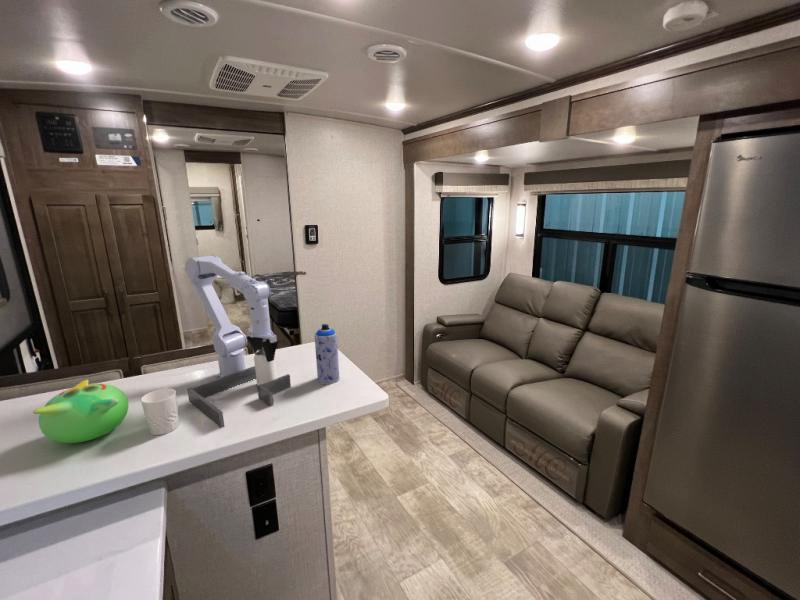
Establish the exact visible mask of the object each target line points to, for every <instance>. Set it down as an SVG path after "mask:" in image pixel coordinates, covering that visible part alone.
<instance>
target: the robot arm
mask: <svg viewBox="0 0 800 600" xmlns="http://www.w3.org/2000/svg"><path fill="white" fill-rule="evenodd" d="M184 271H185V273H186V275H187V277H188V279H189V281H190V283H191V285H193V287H194V289H195V290H196V293H197V295H198V297H199V299H200V301H201V304H202V305H203V307H204V310H205V311H206V314H207V315H208V317H209V320H210V321H211V323H212V325H213V327H214V329H215V331H214V333H213V335H212V336H211V341H212V343H213V348H214V351H215V353H216V354H217V355H218V357H217V361H218V367H219V368H218V370H219V373H217V374H216V375H217V377H218V378H221V377H224V376H227V375H230V374H233V373H236V372H239V371H241V370H244V369H246V364H245V363H246V362H245V356H244V351H246V350H245V349H246V347H247V346H248V342H249V344H250V346H251V348H252V351H253V353H254V355H255V352H256V351H258V350H261V349H264V352H265V355H266V359H267V362H270V361H273V360H274V357H275V356H276V351H277V347H278V344H279V343H280V339H278V338H277V335H276V334H274V332H273V331H272V329H271V319H270V311H269V300H268V299H269V298H270V297H271V294H272V291H271V287H270V285H269V284H268V283H267V282H266V281H265V280H260V281H258V280H257V279H255V278H253V277H250V275H247V274H246V272H244V271H237V272H236V271H234V270H233V269H231V268H230V267H229V266H228V265H227V264H225V263H223V261H222V258H221V257H218V256H217V255H216V254H210V255H206V256H205V255H204V256H198V257H188V258H187V259H186V261H185V265H184ZM218 276H219V277H220V278H223V279H224V280H226V281H228V282H229V285H230V287H232V288H233V289H235V290H237V291H238V292H240V293H241V294H243V297H244V299H245V300H246V303H247V306H248V308H249V315H250V323H251V327H247V328H248V330H247V331H248V334H249V335H247V336H246V334H245V333H244V332H243V331H242V329H241V327H240V326H237V325H234V324H232V322H231V321H230V319H229V317H228V315H227V313H226V311H225V308H224V306H223V304H222V302H221V301H220V298H219V296H218V294H217V292H216V290H215V288H214V287H213V282H214V281H215V280H216V278H217V277H218ZM263 340H265V341H263ZM275 358H276V357H275Z"/></svg>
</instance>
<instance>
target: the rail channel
mask: <svg viewBox="0 0 800 600" xmlns="http://www.w3.org/2000/svg"><path fill="white" fill-rule="evenodd" d="M253 379H255V380H257V379H256V371H255V365H253V366H250V367H248V368H245V369H244V370H241V371H239V372H236V373H233V374H230V375H227V376H224V377H218V378H216V379H213V380H209V381H206V382H204V383H201V384H199V385H194V386H192V387H189V388H186V391H187V396H188V402H189V403H190V404H191V405H192V406H194V408H196V409H197V410H198V411H199V412H200V413H202V414H203V415H204V416H206V418H207V419H209V420H210V421H212V422H213V423H214V424H215V425H216V426H218V428H220V429H222V427H223V428H225V420H224V413H223V411H222V410H221V409H220V408H218V407H216V406H215V405H214V404H212V403H211V402H210V401H209V400H207V399H206V398H209V397H211V396H214V395H217V394H220V393H222V392H225V391H227V389H228V390H230V389H232V387H233V388H235V386H236V387H238V386H237V385H239V386H241V385H244V384H246V382H247V383H249V382H252V381H254V380H253ZM251 380H252V381H251ZM248 381H249V382H248ZM243 383H244V384H243ZM240 384H241V385H240ZM291 385H292V383H291V376H290V374H289V373H287V374H285V375H282V376H279V377H277V379H274V380H271V381H269V382H266V383H264V384H261V385H258V386H257V385H256V387H257V395H258V400H260V401H261V402H262V403H265V404H266V405H268V406H269V407H272V406H274V397H273V396H274V395H276V394H279V393H281V392H283V391H286V390H287V389H290V388H292V386H291ZM229 388H230V389H229ZM224 390H225V391H224ZM219 392H220V393H219Z"/></svg>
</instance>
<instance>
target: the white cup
mask: <svg viewBox="0 0 800 600" xmlns="http://www.w3.org/2000/svg"><path fill="white" fill-rule="evenodd" d="M177 399H178V398H177V394H176V390H175V389H173V388H160V389H156V390H155V389H154V390H152V391H150V392H148V393H146V394H144V395H142V397H141V399H140V401H141V406H142V409H143V413H144V416H145V420H146V423H147V426H148V429H149V433H150V435H153V436H162V435H166V434H169V433H171V432H173V431H174V430H176V429H177V428H178V427H179V426H180V423H179V410H178V400H177Z"/></svg>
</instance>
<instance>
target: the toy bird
mask: <svg viewBox="0 0 800 600" xmlns="http://www.w3.org/2000/svg"><path fill="white" fill-rule="evenodd" d="M128 411H129V400H128V397H127V395H126V394H125V392H124V391H123V390H122V389H120V388H119V387H117V386H115V385H113V384H112V385H111V384H109V383H108V384H107V383H99V382H98V383H97V382H96V383H89V379H85V380H82V381H80V382H79V383H77V384H76V385H75V386H73V387H71V388H68V389H66V390H63V391H61V392H60V393H58V394H56V395H55V396H53V397H52V398H51V399H50V400H48V401H47V402H46V403H45V405H44V406H42V407H40V408H37V409H34V410H33V411H32V413H33V414H35V415H39V416H38V427H39V429H40V431H41V432H42V434H43V435H44V436H45V437H46V438H47V439H50V440H52V441H54V442H56V443H62V444H77V443H83V442H88V441H92V440H95V439H97V438H99V437H103V436H104V435H106V434H108V433H109V432H112V431H113V430H114V429H116V428H117V427H118V426H119V425H120V424H121V423H122V422H123V421H124V420H125V418H126V416H127V414H128Z"/></svg>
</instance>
